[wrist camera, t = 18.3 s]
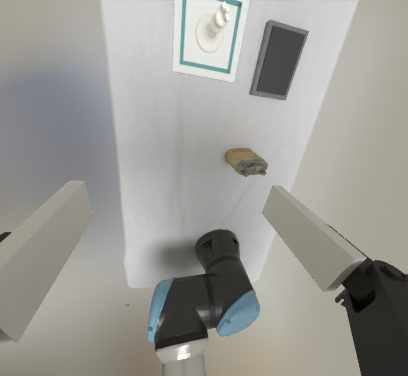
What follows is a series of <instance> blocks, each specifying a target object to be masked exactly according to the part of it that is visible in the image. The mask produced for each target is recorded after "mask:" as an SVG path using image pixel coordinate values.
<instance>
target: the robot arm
mask: <svg viewBox="0 0 408 376" xmlns="http://www.w3.org/2000/svg"><path fill="white" fill-rule="evenodd" d="M262 214H263V215H264V216H265V217H266V219H267V220H268V221H269V223H270V224H271V225H272V226H273V228H274V229H275V230H276V232H277V233H278V234H279V235H280V237H281V238H282V239H283V240H284V242H285V243H286V245H287V246H288V247H289V248H290V250H291V251H292V252H293V254H294V255H295V256H296V257H297V258H298V260H299V261H300V263H301V264H302V265H303V266H304V268H305V269H306V270H307V272H308V273H309V274H310V275H311V277H312V278H313V279H314V281H315V282H316V283H317V284H318V286H319V287H320V288H321V290H322V291H323V292H328V291H334V290H336V289H337V288H338V287H339V286H340V285H341V284H342V285H343V286H344V287H345V288H346V289H345V290H343V292H341V293H340V294H339V295H338V296H337V297H336V298H335V302H336V303H338V302H339V301H340V300H341V299H344V301H343V302H342V303H341V305H342V306H344V307H346V310H347V314H348V318H349V323H350V328H351V332H352V336H353V341H354V345H355V349H356V354H357V358H358V362H359V367H360V371H361V376H408V275H407V274H404V273H402V272H401V271H400V270H398V269H397V268H395V267H394V266H392V265H390V264H388V263H386V262H383V261H379V260H375V261H372V260H371V259H370V258H368V257H367V256H366V255H365V254H364V253H362V252H361V251H360V250H359V249H357V248H356V247H355V246H354V245H353V244H351V243H350V242H349V241H348V240H346V239H344V237H343V236H342V235H340V234H339V233H338V232H337V231H336V230H334V229H333V228H332V227H331V226H329V225H328V224H326V223H325V222H324V221H322V220H321V219H320V218H319V217H317V216H316V215H315V214H314V213H313V212H312V211H310V210H309V209H308V208H307V207H306V206H304V205H303V204H302V203H301V202H299V201H298V200H297V199H296V198H295V197H293V196H292V195H291V194H290V193H289V192H288V191H286V190H285V189H284V188H283V187H282V186H272V188H271V191H270V193H269V196H268V199H267V201H266V204H265V206H264V209H263V211H262ZM93 217H94V215H93V211H92V207H91V203H90V200H89V196H88V192H87V189H86V185H85V181H69V182H68V183H67V184H65V185H64V186H63V187H62V188H61V189H60V190H59V191H58V192H57V193H55V194H54V195H53V196H52V197H51V198H50V199H49V200H48V201H46V202H45V203H44V204H43V205H42V206H41V207H40V208H39V209H37V210H36V211H35V212H34V213H33V214H32V215H31V216H30V217H29V218H28V219H26V220H25V221H24V222H23V223H22V224H21V225H20V226H18V227H17V229H15V230H14V231H13V232H5V233H3V234H1V235H0V346H2V345H9V344H15V343H18V341H19V339H20V338H21V336H22V334H23V333H24V331H25V329H26V328H27V326H28V324H29V323H30V321H31V320H32V318H33V316H34V315H35V313H36V311H37V310H38V308H39V306H40V305H41V303H42V301H43V299H44V298H45V296H46V294H47V293H48V291H49V290H50V288H51V286H52V285H53V283H54V281H55V280H56V278H57V276H58V275H59V273H60V271H61V270H62V268H63V266H64V265H65V263H66V261H67V260H68V258H69V256H70V255H71V253H72V251H73V250H74V248H75V247H76V245H77V243H78V241H79V240H80V238H81V236H82V235H83V233H84V232H85V230H86V228H87V227H88V225H89V223H90V222H91V220H92V218H93ZM196 255H197V258H198V260H199V261H200V263H201V265H202V266H203V268H204V270H205V273H206V274H201V275H194V276H188V277H181V278H173V279H169V280H164V281H161V282H159V283H158V284H157V286H156V288H155V291H154V294H153V298H152V302H151V308H150V315H149V328H148V339H149V341H150V342H152V343H153V342H155V353H156V355H157V356H158V357H159V358H160V360H161V362H162V376H206V374H205V365H204V356H203V352H204V348H205V346H206V344H207V342H208V333H207V329H211V328H216V331H217V332H218V334H219V335H220V336H229V335H233V334H235V333H237V332H239V331H241V330H243V329H245V328H246V327H248V326H249V325H251V324H252V323H253V322H254V321H255V320H256V319H257V317H258V316H259V313H260V305H259V302H258V300H257V297H256V293H255V291H254V289H253V287H252V285H251V283H250V280H249V278H248V276H247V274H246V271H245V269H244V267H243V264H242V262H241V260H240V251H239V243H238V240H237V238H236V236H235V235H234V234H233V233H232V232H230V231H227V230H216V231H212V232H210V233H207V234H206V235H204V236H203V237H202V238H200V239H199V241H198V242H197V244H196Z"/></svg>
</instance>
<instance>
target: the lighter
mask: <svg viewBox="0 0 408 376" xmlns="http://www.w3.org/2000/svg"><path fill="white" fill-rule="evenodd" d="M225 158H226V160H227V161H228V162H229V163H230V164H231V166H232V167H233V168H234V169H235V170H236V171H237V172H238V173H239V174H241V175H244V176H245V177H247V176H248V175H255V174H260V175H265V174H266V172H265V171H266V169H267V167H268V164H267V162H265V160H264V159H262V158H261V157H260V156H258V155H257V154H255V153H254V152H252V151H251V150H250V149H231V150H229V151H228V152H227V153H226V156H225Z"/></svg>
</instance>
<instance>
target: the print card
mask: <svg viewBox="0 0 408 376" xmlns="http://www.w3.org/2000/svg"><path fill="white" fill-rule="evenodd" d="M224 1H225V2H226V6H229V8H230V21H229V23H228V24H227V25H226V26H225V27H224V38H223V42H222V44H221V46H220V48H219V49H218V50H217V51H216V52H214V53H205V52H204V51H202V50H201V49H200V48H199V46H198V44H197V42H196V37H195V29H196V25H197V23H198V21H199V19H200V18H201V17H202V16H203V15H205V14H208V13H211V14H214V13H216V10H217V8H218V7H219V6H220V5H221V4H222V3H223V2H224ZM249 1H250V0H174V35H173V70H172V71H174V72H180V73H185V74H190V75H196V76H201V77H207V78H212V79H218V80H223V81H228V82H234V80H235V75H236V70H237V64H238V59H239V54H240V49H241V43H242V38H243V33H244V27H245V22H246V17H247V12H248V6H249Z"/></svg>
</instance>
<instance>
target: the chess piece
mask: <svg viewBox="0 0 408 376" xmlns="http://www.w3.org/2000/svg"><path fill="white" fill-rule="evenodd" d="M229 21H230V8H229V6H226V2H225V1H224V2H223V3H222V4H221V5H220V6H219V7H218V8H217V10H216V13H214V14H211V13H208V14H205V15H203V16H202V17H201V18H200V19H199V21H198V23H197V25H196V29H195V37H196V42H197V44H198V46H199V48H200V49H201V50H202V51H204V52H205V53H214V52H216V51H217V50H218V49H219V48H220V46H221V44H222V42H223V38H224V27H225V26H226V25H227V24H228V23H229Z"/></svg>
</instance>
